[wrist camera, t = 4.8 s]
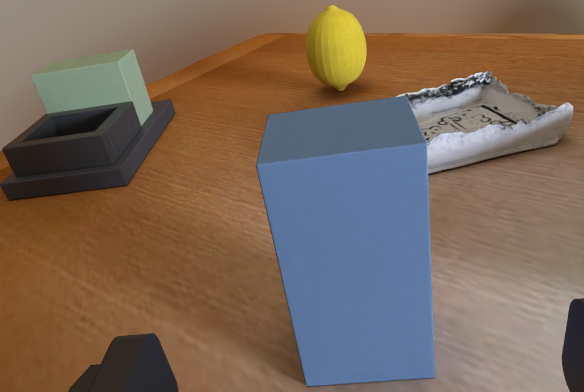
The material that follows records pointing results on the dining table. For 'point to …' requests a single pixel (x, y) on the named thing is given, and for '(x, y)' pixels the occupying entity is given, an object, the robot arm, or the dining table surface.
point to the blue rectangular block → (352, 238)
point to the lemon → (336, 47)
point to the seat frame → (86, 127)
